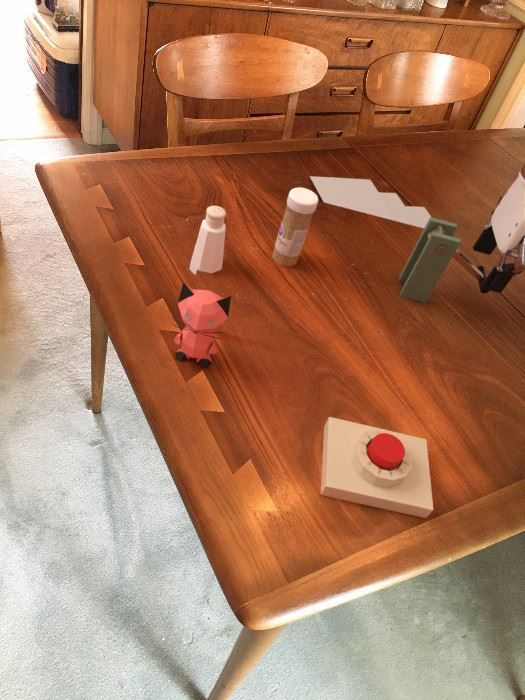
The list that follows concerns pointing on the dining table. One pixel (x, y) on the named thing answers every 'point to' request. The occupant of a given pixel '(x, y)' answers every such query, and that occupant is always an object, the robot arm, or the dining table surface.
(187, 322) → the cat figurine
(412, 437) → the control block
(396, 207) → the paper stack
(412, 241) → the dining table surface
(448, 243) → the bracket
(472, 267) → the lever
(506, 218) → the robot arm
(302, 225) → the sprinkles bottle
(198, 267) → the pepper shaker
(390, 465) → the button
